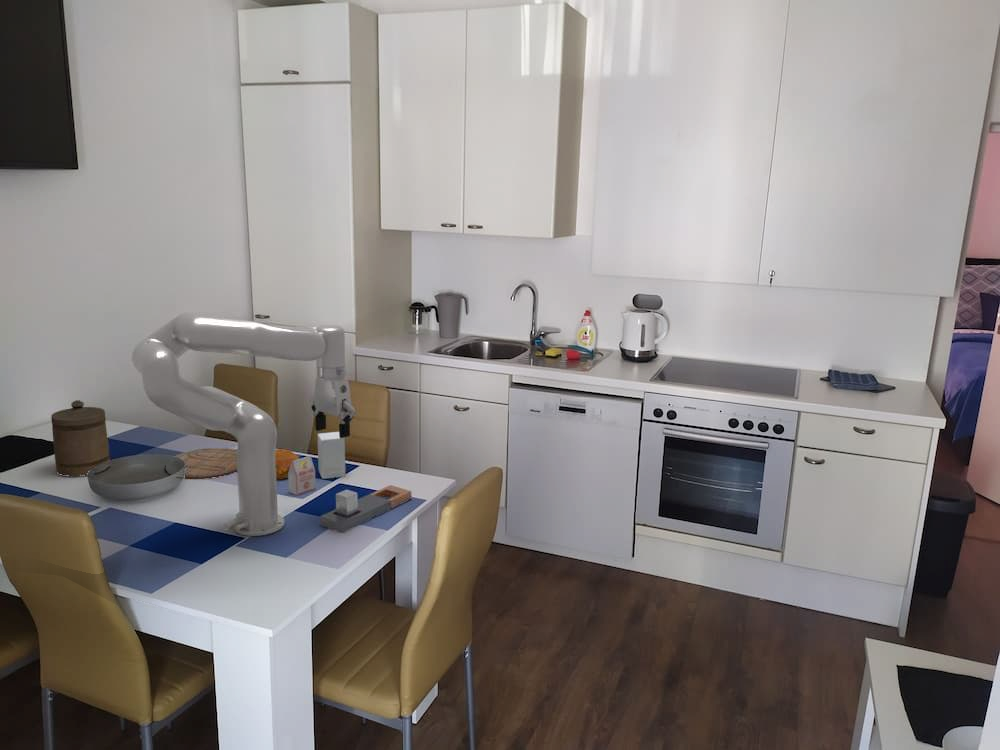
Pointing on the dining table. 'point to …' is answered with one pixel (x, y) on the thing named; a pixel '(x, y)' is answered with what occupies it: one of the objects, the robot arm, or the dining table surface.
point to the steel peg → (346, 503)
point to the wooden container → (79, 439)
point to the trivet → (209, 462)
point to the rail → (367, 508)
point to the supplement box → (331, 455)
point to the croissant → (283, 462)
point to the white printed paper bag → (301, 476)
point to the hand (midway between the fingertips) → (332, 433)
